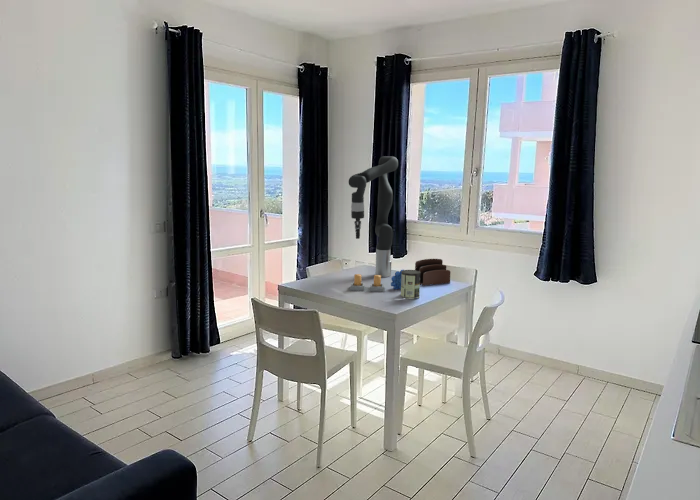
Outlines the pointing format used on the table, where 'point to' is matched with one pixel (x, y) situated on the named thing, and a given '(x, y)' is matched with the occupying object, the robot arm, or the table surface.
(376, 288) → the grey peg socket base
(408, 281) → the coffee can
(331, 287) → the table surface
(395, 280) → the grapes
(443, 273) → the letter holder
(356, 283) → the loose jaw peg
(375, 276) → the seated jaw peg
